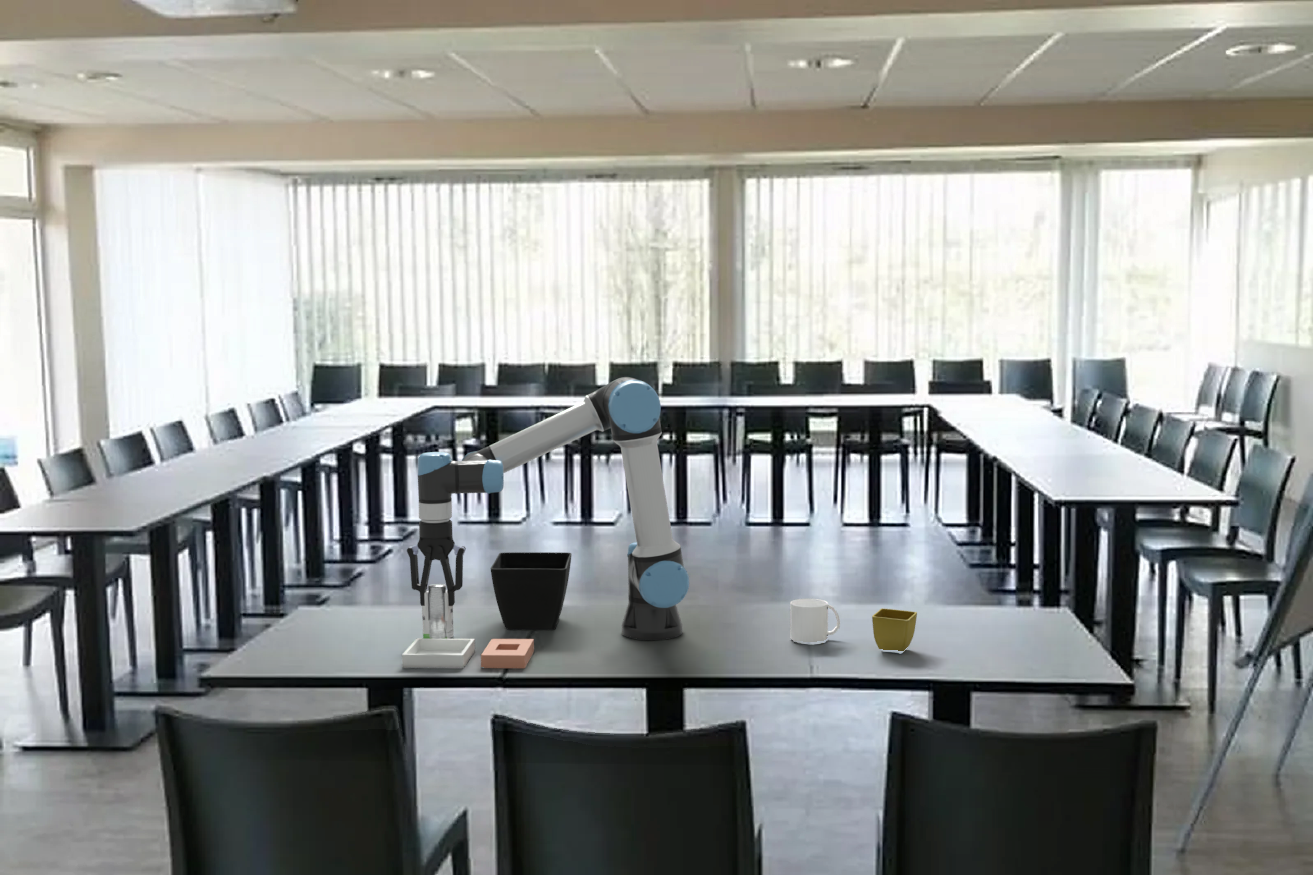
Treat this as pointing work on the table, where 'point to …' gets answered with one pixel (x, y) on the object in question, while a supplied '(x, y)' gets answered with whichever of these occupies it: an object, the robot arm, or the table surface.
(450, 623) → the ink box
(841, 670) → the table surface
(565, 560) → the flower pot
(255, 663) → the table surface
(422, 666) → the tray
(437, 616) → the pin
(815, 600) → the mug
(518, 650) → the hitch plate
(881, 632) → the flower pot
